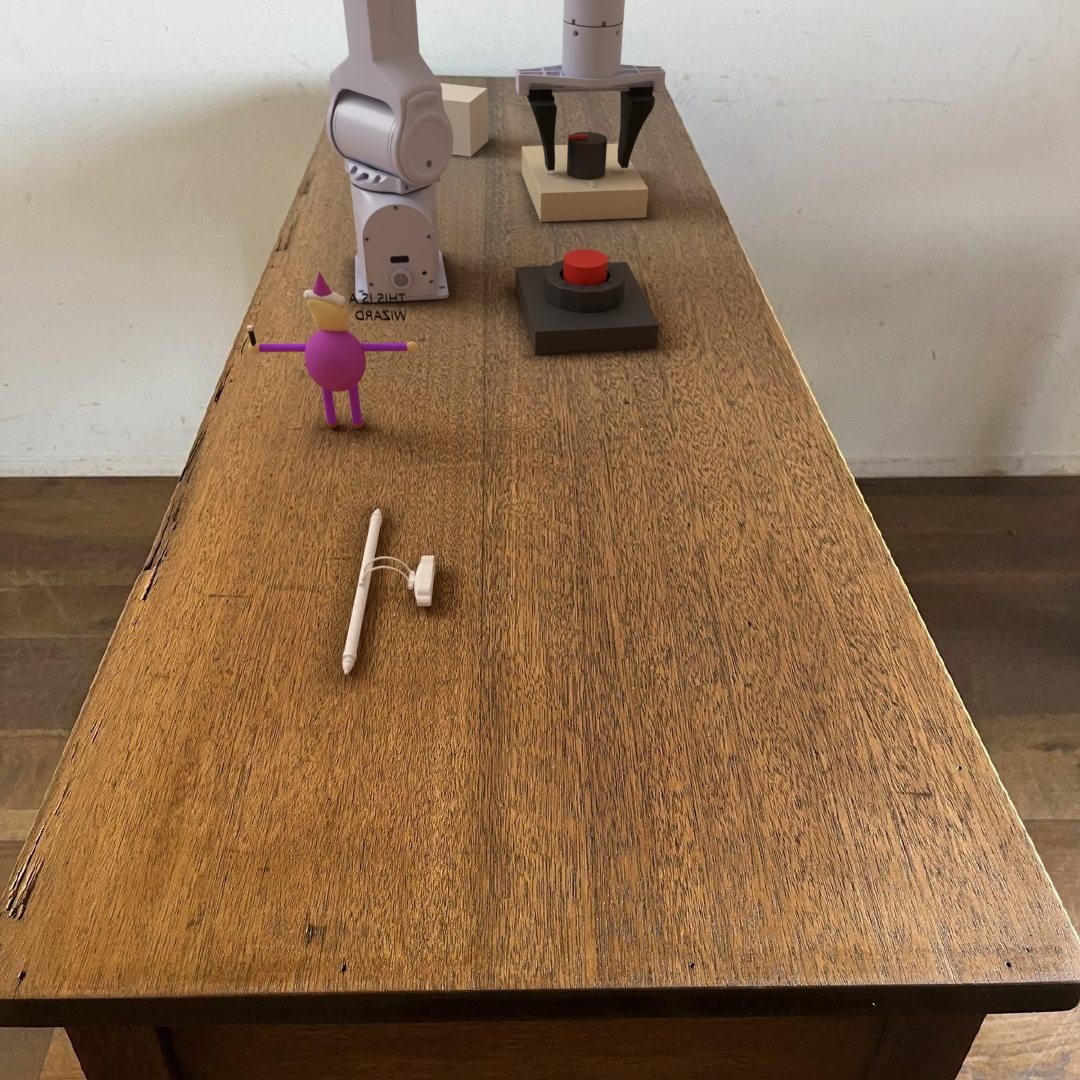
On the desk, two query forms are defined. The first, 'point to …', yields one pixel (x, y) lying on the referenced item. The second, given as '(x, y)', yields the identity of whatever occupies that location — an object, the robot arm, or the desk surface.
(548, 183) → the panel
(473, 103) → the beige cube
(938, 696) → the desk surface
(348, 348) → the wizard figurine
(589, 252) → the power button
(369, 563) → the picture light
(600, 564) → the desk surface
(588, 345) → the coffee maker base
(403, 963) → the desk surface
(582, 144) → the warmer dial
